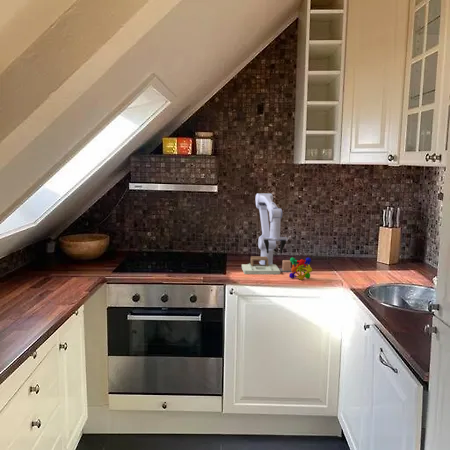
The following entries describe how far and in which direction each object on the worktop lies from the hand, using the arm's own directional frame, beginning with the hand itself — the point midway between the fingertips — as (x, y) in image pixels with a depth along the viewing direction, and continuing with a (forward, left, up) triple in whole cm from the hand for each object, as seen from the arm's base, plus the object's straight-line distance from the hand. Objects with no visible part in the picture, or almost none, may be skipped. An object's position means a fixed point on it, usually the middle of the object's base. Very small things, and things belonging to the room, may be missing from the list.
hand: (274, 253), depth 274 cm
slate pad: (+2, +7, -10) cm, 12 cm away
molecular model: (+21, +11, -10) cm, 25 cm away
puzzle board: (+3, -8, -10) cm, 13 cm away
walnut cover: (-4, -8, -8) cm, 12 cm away
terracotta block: (+2, +7, -9) cm, 12 cm away
